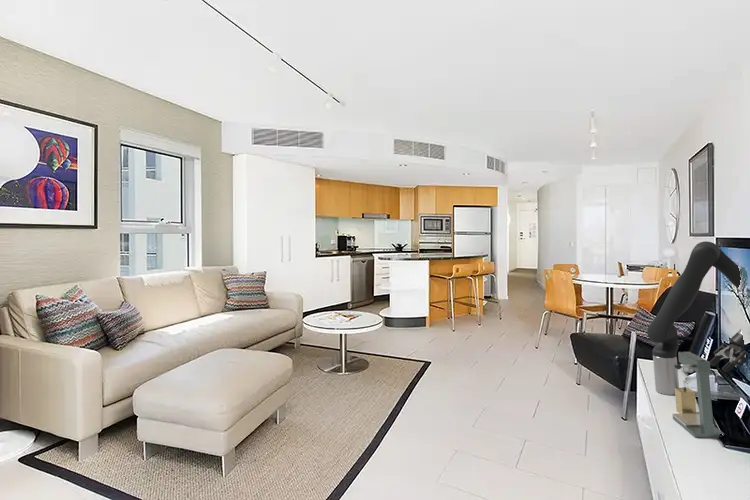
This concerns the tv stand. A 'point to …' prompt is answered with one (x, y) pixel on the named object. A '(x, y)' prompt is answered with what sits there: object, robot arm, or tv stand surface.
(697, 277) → the robot arm
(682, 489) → the tv stand surface
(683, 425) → the arbor press
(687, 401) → the block
